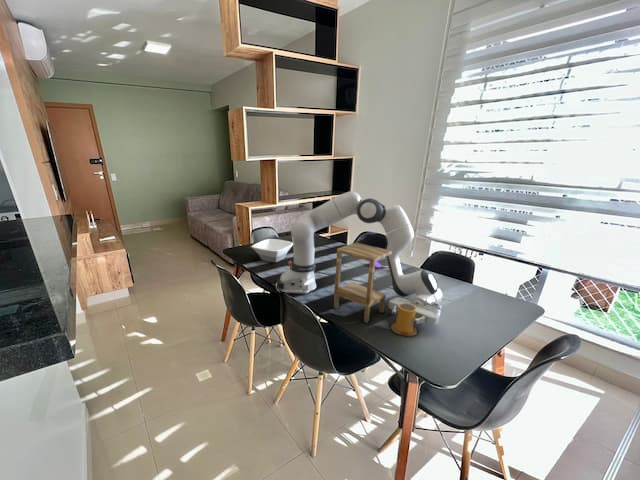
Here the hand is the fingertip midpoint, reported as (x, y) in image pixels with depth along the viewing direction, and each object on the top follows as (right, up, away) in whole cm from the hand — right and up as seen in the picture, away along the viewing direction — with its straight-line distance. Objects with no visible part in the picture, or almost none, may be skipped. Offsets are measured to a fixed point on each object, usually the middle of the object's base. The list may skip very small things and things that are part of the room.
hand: (404, 317), depth 116 cm
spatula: (+16, +19, +64) cm, 69 cm away
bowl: (-55, +27, +87) cm, 106 cm away
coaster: (+1, -5, +3) cm, 6 cm away
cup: (+1, -5, +3) cm, 6 cm away
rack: (-14, 0, +18) cm, 23 cm away
